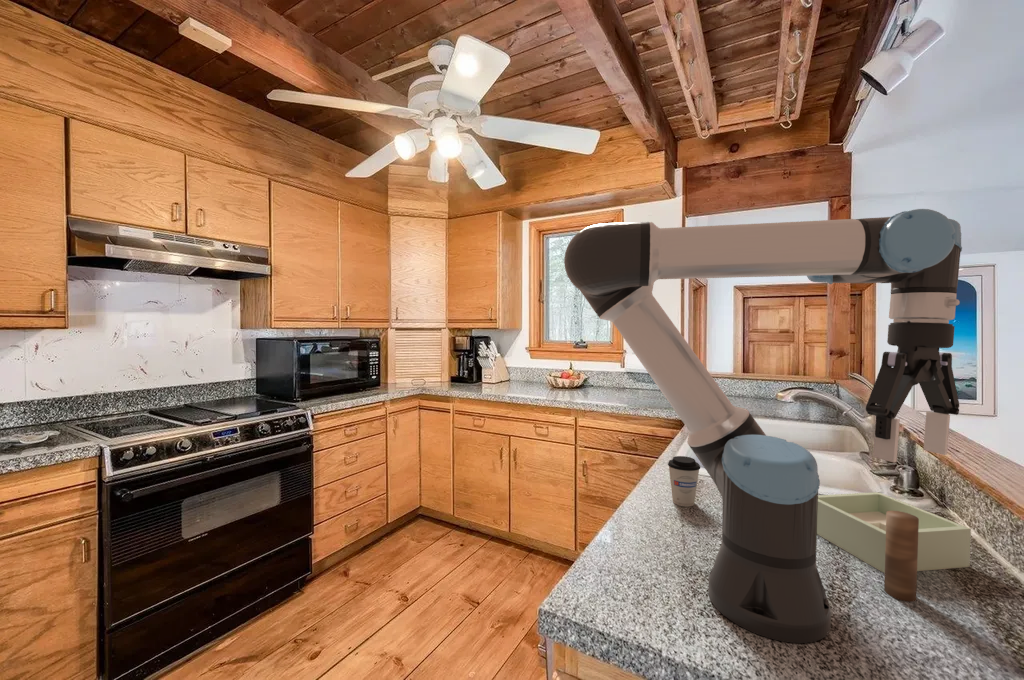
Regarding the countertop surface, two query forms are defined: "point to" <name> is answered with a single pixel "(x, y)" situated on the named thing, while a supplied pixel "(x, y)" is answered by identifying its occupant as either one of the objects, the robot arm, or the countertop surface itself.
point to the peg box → (864, 530)
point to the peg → (901, 555)
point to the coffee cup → (683, 480)
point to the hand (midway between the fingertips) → (910, 456)
